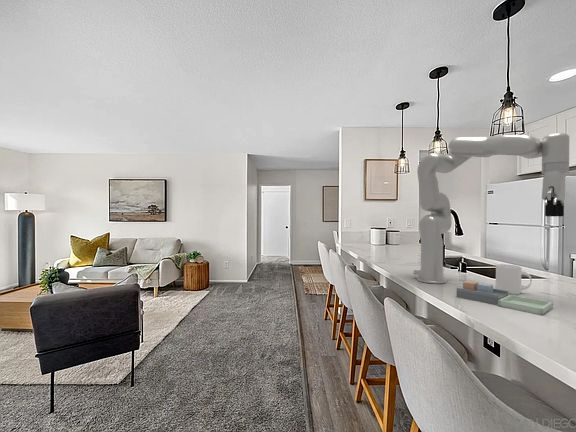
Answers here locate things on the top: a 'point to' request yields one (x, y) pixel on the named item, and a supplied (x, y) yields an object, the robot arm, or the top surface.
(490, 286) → the tile front
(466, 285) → the tan small block
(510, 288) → the mug
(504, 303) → the tray
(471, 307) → the top surface
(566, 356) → the top surface
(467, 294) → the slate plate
